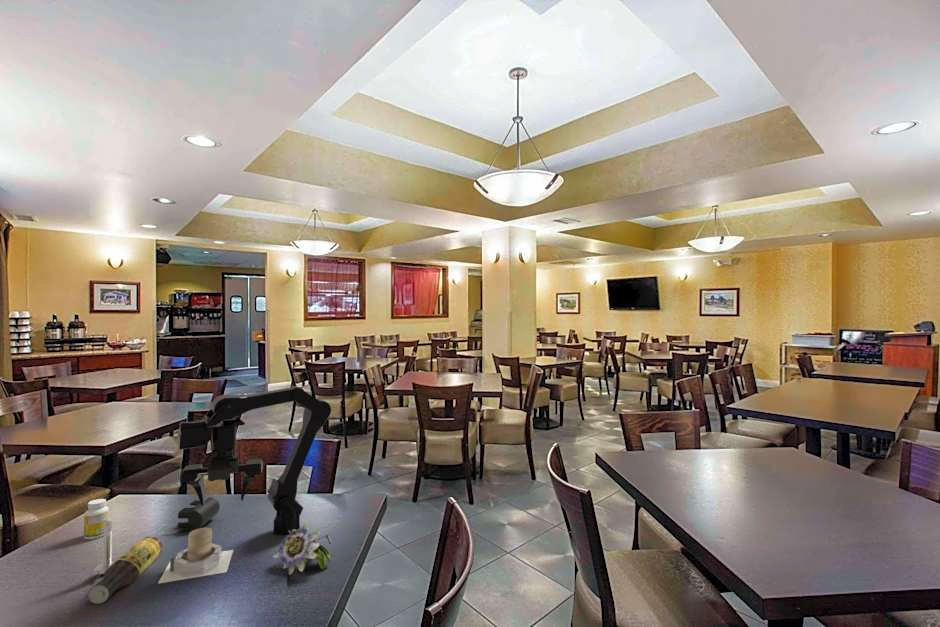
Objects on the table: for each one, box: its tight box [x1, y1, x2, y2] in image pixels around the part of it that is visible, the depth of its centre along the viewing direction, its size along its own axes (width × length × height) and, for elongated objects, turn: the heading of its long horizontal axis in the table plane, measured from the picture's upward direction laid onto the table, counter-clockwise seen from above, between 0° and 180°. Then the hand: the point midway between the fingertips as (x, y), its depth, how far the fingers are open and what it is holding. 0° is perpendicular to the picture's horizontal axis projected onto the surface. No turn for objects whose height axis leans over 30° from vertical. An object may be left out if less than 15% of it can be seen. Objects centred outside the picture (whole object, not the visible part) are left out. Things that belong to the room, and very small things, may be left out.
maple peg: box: [187, 527, 213, 561], centre depth 109 cm, size 5×5×8 cm
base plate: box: [157, 549, 234, 585], centre depth 109 cm, size 14×11×1 cm
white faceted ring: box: [169, 543, 223, 577], centre depth 109 cm, size 10×10×3 cm
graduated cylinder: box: [93, 520, 116, 577], centre depth 106 cm, size 13×5×5 cm
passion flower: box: [272, 522, 332, 576], centre depth 111 cm, size 11×11×12 cm
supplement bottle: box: [83, 498, 110, 540], centre depth 126 cm, size 5×5×10 cm
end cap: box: [177, 497, 221, 534], centre depth 132 cm, size 10×7×7 cm
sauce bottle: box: [87, 536, 164, 605], centre depth 104 cm, size 7×6×20 cm
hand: (222, 502), depth 118 cm, fingers open, 9 cm apart
